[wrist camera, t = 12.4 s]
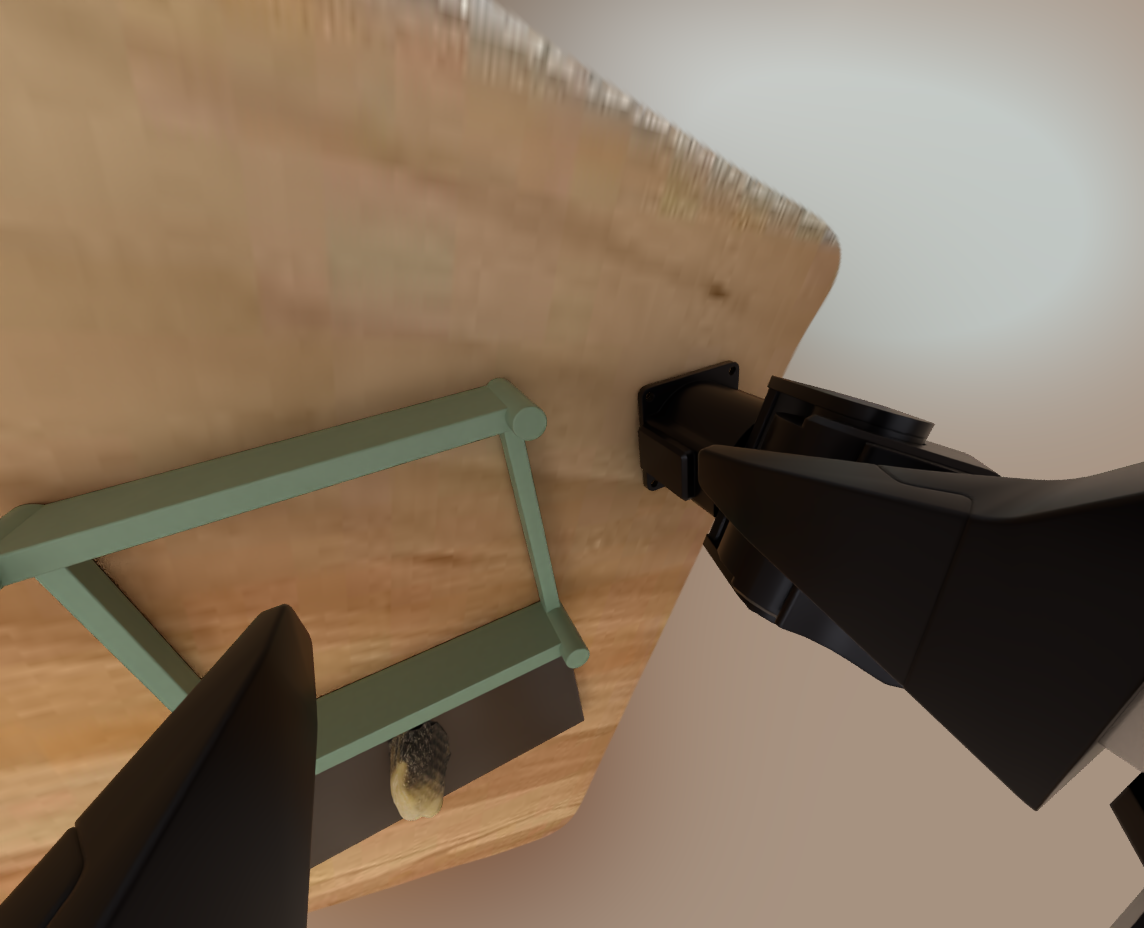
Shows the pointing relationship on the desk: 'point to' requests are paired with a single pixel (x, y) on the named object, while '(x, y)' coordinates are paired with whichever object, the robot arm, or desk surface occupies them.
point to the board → (476, 741)
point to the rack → (282, 471)
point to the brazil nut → (419, 770)
